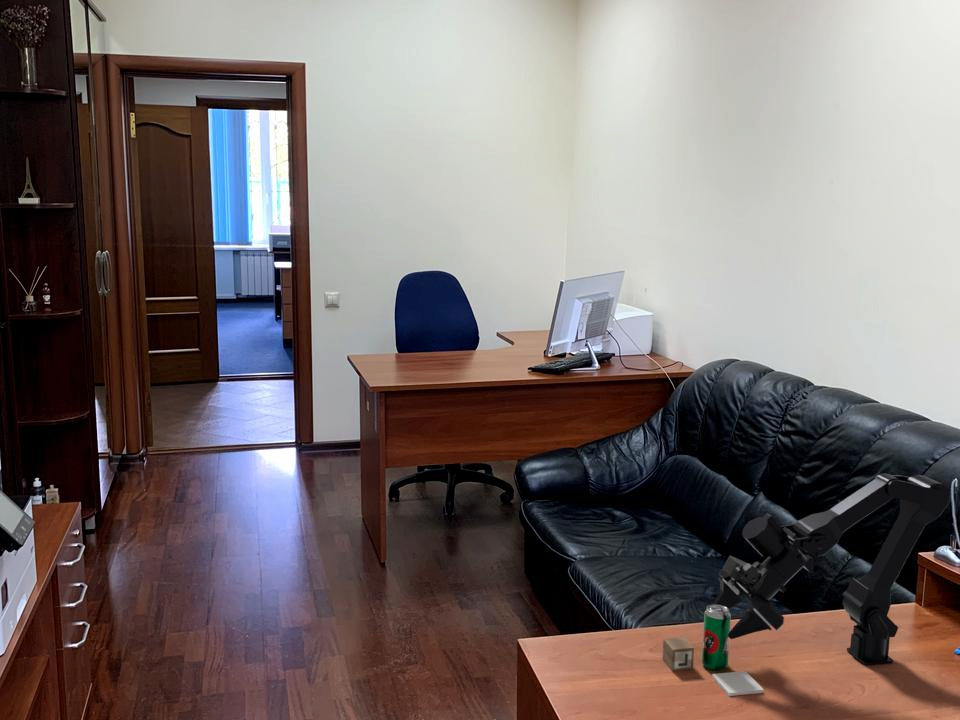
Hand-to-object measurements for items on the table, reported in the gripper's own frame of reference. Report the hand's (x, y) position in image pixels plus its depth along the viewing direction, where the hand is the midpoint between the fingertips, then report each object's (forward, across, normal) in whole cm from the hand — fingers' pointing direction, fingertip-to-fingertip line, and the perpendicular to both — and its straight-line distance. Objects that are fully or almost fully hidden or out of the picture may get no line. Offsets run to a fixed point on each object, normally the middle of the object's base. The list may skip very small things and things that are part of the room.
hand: (719, 626), depth 173 cm
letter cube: (+11, -2, +1) cm, 11 cm away
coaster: (+5, +7, +6) cm, 11 cm away
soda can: (+6, 0, +6) cm, 8 cm away
